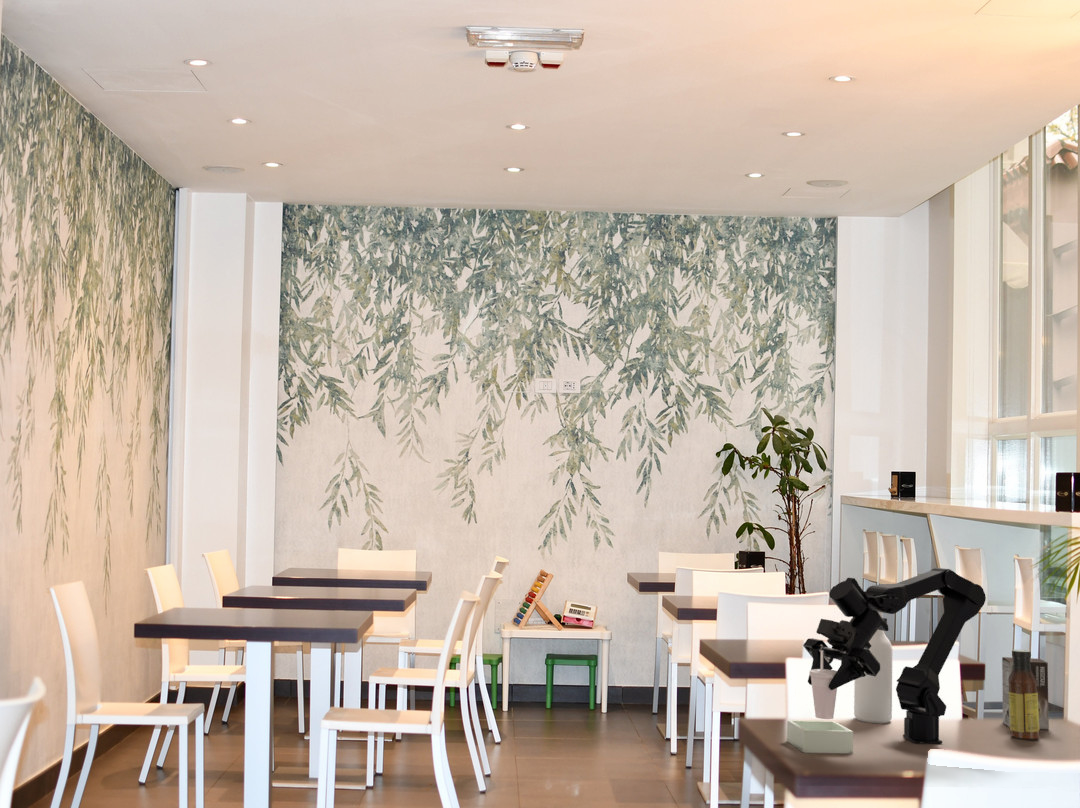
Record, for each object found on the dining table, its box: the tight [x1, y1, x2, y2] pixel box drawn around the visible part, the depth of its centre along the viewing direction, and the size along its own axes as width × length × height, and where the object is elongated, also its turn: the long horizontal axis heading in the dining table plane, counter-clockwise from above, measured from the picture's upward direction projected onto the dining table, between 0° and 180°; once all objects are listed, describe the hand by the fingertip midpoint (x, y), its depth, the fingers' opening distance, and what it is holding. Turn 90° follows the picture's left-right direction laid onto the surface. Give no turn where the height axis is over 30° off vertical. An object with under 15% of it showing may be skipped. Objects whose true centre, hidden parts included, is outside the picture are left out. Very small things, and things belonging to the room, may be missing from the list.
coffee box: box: [1001, 656, 1050, 730], centre depth 262 cm, size 9×6×16 cm
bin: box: [786, 719, 854, 754], centre depth 230 cm, size 11×11×4 cm
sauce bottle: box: [1008, 649, 1040, 741], centre depth 249 cm, size 6×6×20 cm
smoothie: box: [808, 650, 838, 720], centre depth 229 cm, size 6×6×14 cm
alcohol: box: [853, 612, 893, 725], centre depth 263 cm, size 9×9×30 cm
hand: (819, 686), depth 228 cm, fingers closed on smoothie, 6 cm apart
